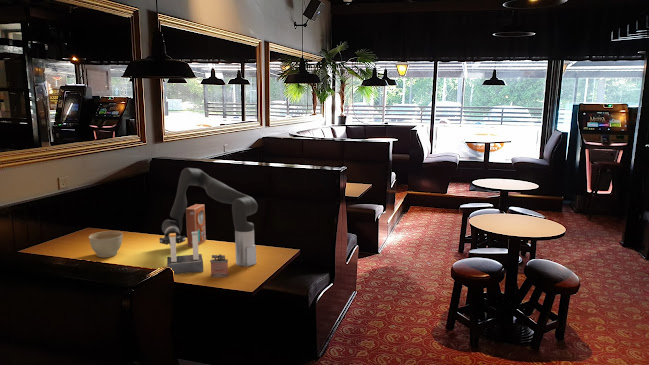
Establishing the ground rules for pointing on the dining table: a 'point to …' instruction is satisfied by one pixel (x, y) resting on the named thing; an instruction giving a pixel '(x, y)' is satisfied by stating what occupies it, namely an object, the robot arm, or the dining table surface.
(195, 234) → the handle
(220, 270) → the lighter
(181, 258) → the grey rectangular base
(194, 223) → the control panel
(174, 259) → the handle
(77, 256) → the dining table surface
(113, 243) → the planter bowl
